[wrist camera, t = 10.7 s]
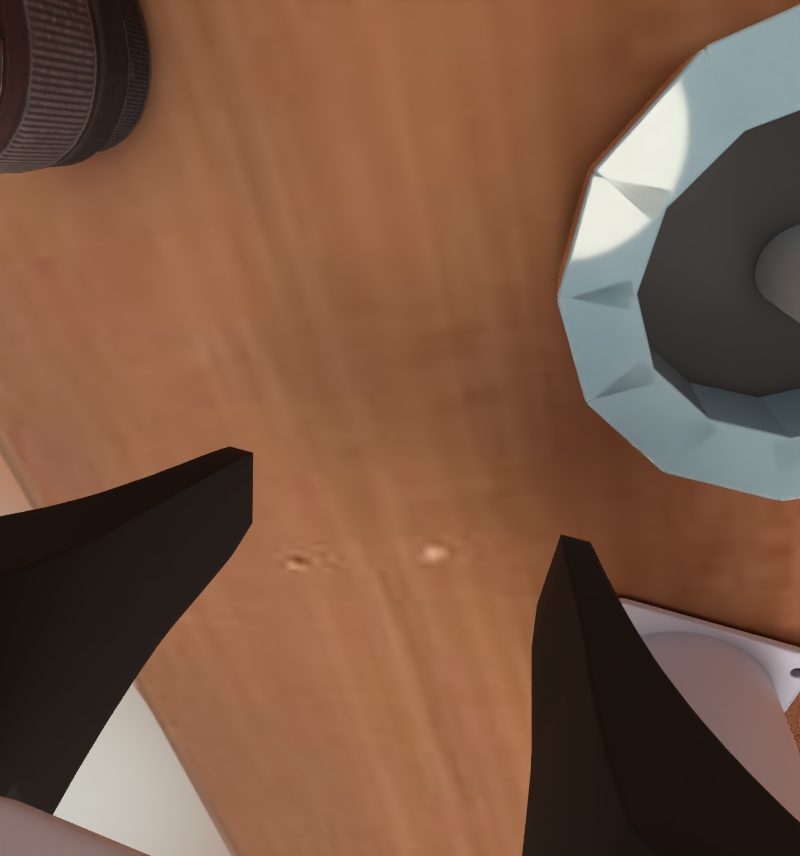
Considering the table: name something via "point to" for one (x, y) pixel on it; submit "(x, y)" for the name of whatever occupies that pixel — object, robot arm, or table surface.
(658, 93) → the ring
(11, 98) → the camera lens
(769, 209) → the stand
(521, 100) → the table surface
